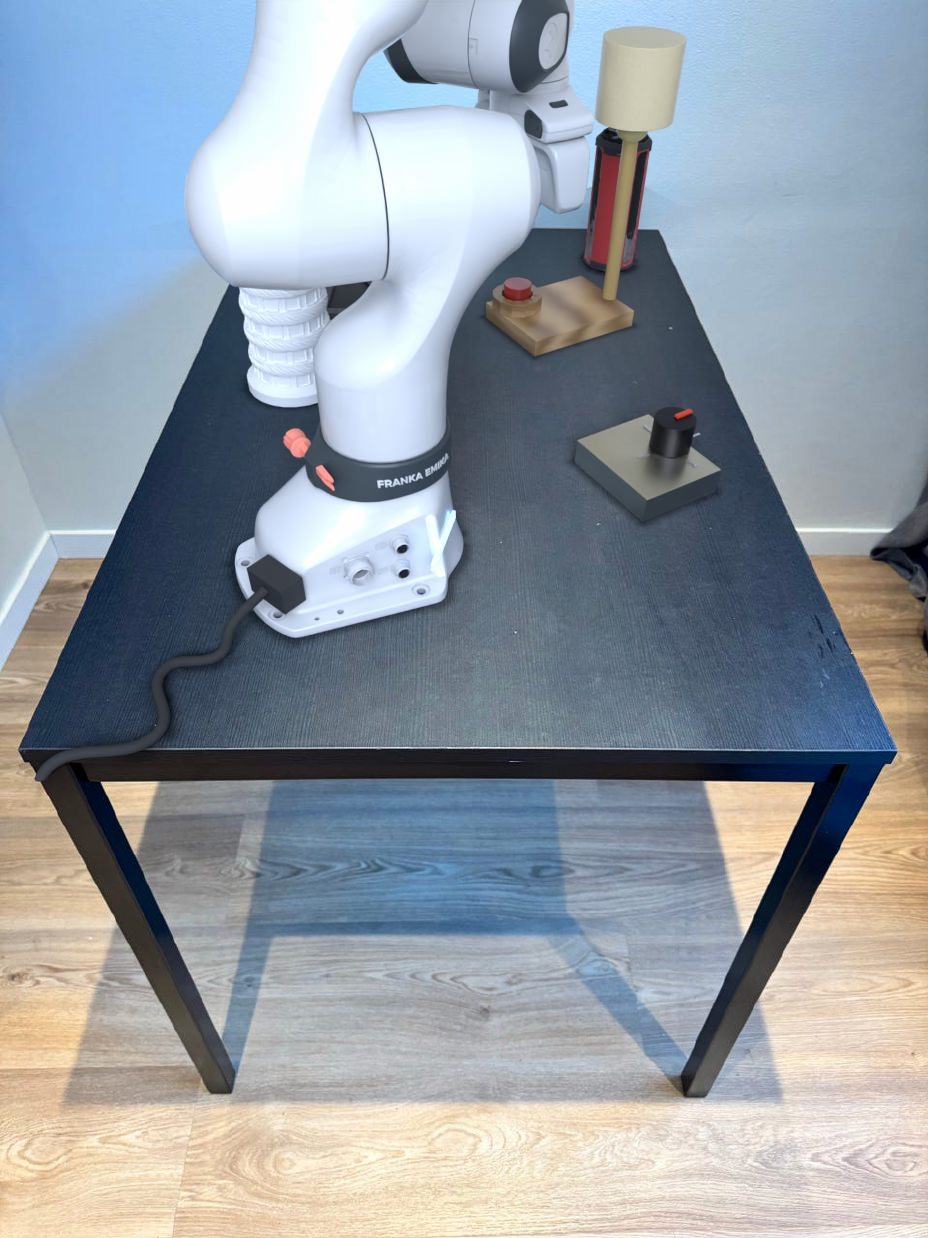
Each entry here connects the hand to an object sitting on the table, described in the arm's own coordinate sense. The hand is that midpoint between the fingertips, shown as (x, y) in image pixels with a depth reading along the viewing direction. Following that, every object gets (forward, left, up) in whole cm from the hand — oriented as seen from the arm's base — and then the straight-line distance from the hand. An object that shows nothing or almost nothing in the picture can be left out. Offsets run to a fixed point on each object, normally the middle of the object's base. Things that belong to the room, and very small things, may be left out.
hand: (521, 223), depth 110 cm
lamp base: (+5, -3, -13) cm, 14 cm away
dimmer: (-6, -36, -13) cm, 39 cm away
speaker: (+22, +8, -13) cm, 27 cm away
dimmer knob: (-4, -36, -10) cm, 38 cm away
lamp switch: (0, 0, -9) cm, 9 cm away
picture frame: (-12, +17, -13) cm, 25 cm away
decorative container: (-32, +1, -13) cm, 35 cm away
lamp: (+10, -7, -9) cm, 15 cm away
